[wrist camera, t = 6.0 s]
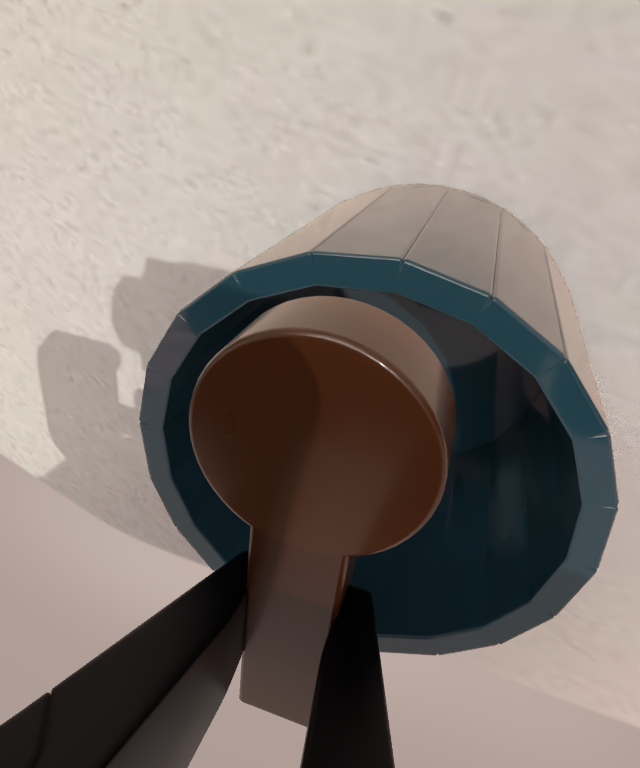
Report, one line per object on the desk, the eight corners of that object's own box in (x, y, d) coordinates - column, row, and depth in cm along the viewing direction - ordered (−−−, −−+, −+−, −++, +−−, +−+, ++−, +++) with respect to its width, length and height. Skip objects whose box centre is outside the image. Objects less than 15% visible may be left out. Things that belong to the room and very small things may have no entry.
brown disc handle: (380, 685, 10) (366, 753, 9) (220, 627, 10) (190, 683, 9) (486, 325, 6) (481, 371, 5) (231, 269, 7) (184, 300, 6)
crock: (425, 504, 21) (384, 704, 14) (227, 344, 20) (82, 472, 13) (649, 331, 15) (755, 517, 9) (391, 108, 15) (289, 122, 8)
